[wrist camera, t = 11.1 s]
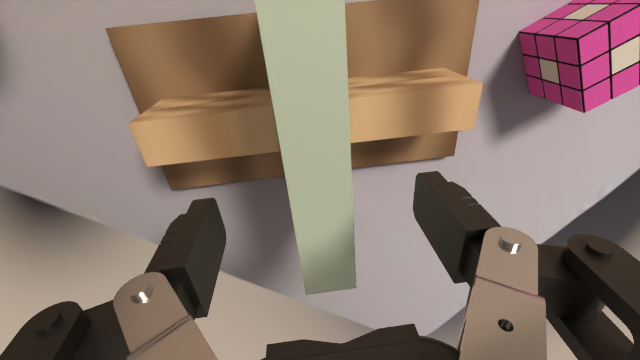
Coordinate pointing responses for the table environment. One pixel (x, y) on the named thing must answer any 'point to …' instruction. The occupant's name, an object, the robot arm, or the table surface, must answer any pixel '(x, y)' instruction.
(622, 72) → the puzzle toy
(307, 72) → the sage slotted plate
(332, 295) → the table surface
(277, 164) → the oak slotted rail
